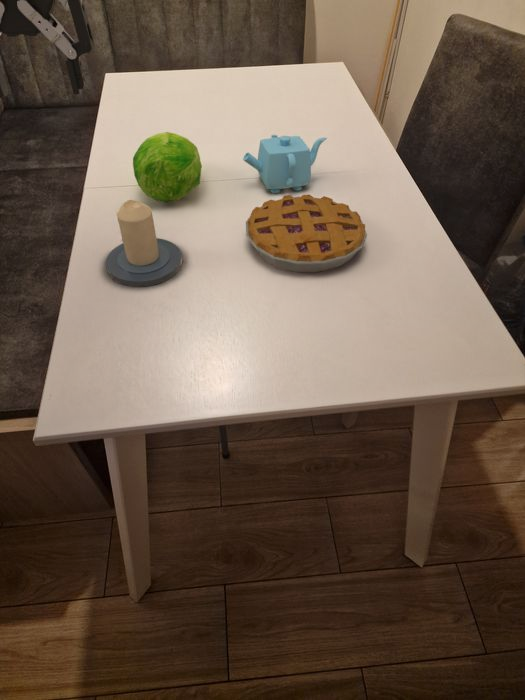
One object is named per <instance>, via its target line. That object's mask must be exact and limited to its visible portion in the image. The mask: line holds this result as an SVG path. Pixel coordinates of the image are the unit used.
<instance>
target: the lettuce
mask: <svg viewBox="0 0 525 700" xmlns="http://www.w3.org/2000/svg"><path fill="white" fill-rule="evenodd" d="M132 167H133V173H134V175H133V176H134V177H135V180H136V183H137V186H138V187H139V188H140V189H141V191H143V193H144V194H145V195H146V196H147V197H150V198H151V199H153V200H155V201H156V202H160V203H161V202H162V203H167V204H168V203H172V202H178V201H179V200H181V199H183V198H184V197H185V196H187V195H188V194H189V193H190V192H191V191H192V190H194V189H195V188H196V187H197V186H199V185H200V183H201V176H202V175H201V174H202V168H203V165H202V161H201V156H200V153H199V150H198V147H197V146H196V144H194V142H192V141H191V140H189V139H188V138H187V137H184V136H182V135H180V134H177V133H175V132H169V131H165V132H161V133H156V134H154V135H152V136H149V137H147V138H145V140H144V141H142V143H141V144H140V145H139V147H138V149H137V150H136V152H135V153H134V155H133V158H132Z"/></svg>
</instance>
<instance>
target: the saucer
mask: <svg viewBox="0 0 525 700" xmlns="http://www.w3.org/2000/svg"><path fill="white" fill-rule="evenodd" d="M156 239H157V245H158V251H159V257H158V259H157V260H156V261H155V262H153V263H151V264H149V265H144V266H137V265H133V264H131V263H130V262H129V261H128V260H127V257H126V253H125V248H124V244H123V243H121V244H118V245H117V246H115V247H114V248H113V249H112V250H111V251H110V252H109V253H108V254H107V256H106V259H105V268H106V272H107V274H108V276H109V277H110V278H111V279H112V280H113V281H115V282H117V283H118V284H121V285H123V286H128V287H133V288H134V287H137V288H138V287H139V288H141V287H142V288H143V287H151V286H155V285H159V284H161V283H164V282H166V281H169V280H170V279H172V278H173V277H174V276H176V275H177V274H178V273H179V271H180V270H181V268H182V265H183V255H182V251H181V249H180V248H179V246H177V245H176V244H175V243H174V242H171V241H170V240H168V239H164V238H158V237H156Z"/></svg>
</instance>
